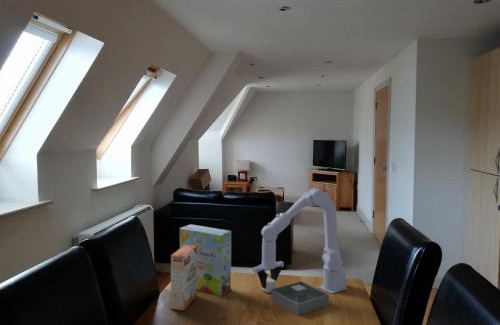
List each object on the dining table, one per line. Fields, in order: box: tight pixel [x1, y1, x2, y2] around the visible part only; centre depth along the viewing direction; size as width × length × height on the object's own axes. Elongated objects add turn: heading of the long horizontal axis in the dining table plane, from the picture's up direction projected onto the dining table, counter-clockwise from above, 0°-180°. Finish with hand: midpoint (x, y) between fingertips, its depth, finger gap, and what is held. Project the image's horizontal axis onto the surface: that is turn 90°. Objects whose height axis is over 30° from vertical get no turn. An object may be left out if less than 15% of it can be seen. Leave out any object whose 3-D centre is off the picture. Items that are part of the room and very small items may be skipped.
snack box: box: [179, 224, 232, 297], centre depth 158 cm, size 22×9×26 cm, turn 62°
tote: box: [270, 280, 330, 316], centre depth 147 cm, size 16×16×4 cm
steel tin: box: [290, 285, 307, 303], centre depth 147 cm, size 4×4×5 cm
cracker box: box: [170, 245, 198, 311], centre depth 144 cm, size 14×6×21 cm, turn 168°
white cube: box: [260, 277, 277, 293], centre depth 157 cm, size 4×4×4 cm
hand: (268, 286), depth 157 cm, fingers closed on white cube, 4 cm apart
